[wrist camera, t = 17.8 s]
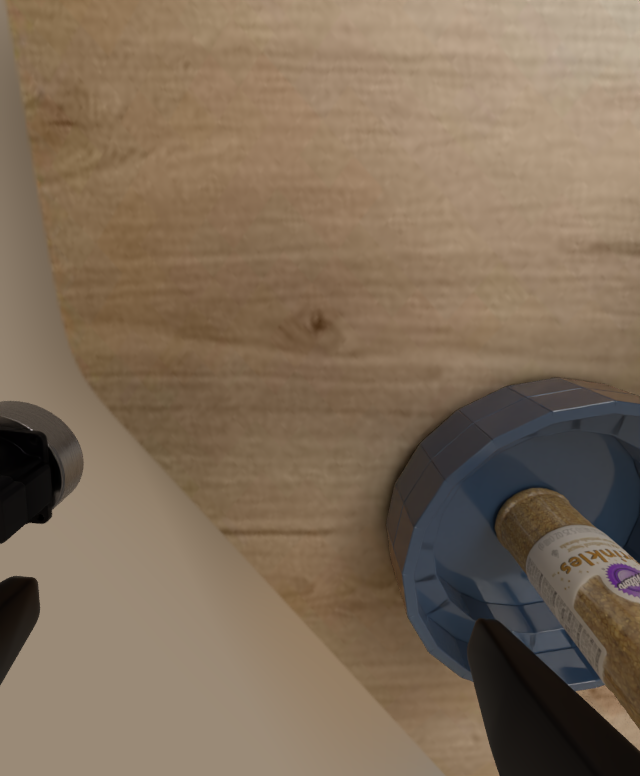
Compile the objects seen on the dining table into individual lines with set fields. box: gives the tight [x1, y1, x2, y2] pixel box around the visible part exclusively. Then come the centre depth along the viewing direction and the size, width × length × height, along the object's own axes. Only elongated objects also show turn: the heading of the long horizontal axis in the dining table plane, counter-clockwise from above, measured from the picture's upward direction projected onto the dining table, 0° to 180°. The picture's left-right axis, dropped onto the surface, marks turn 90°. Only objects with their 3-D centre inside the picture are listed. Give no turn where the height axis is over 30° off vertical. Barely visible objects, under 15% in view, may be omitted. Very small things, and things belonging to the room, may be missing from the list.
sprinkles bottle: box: [495, 488, 640, 729], centre depth 15 cm, size 5×5×14 cm
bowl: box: [386, 378, 640, 691], centre depth 20 cm, size 17×17×4 cm
